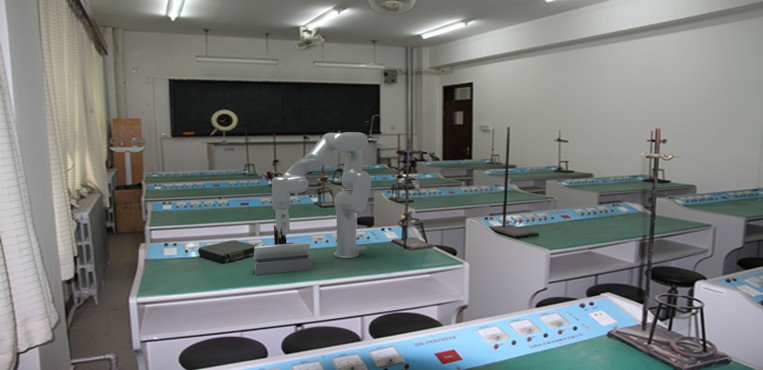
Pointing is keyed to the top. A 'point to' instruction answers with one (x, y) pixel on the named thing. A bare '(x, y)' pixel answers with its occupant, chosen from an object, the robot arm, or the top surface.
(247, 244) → the network switch
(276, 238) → the multimeter
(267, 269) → the block
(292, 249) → the panel
